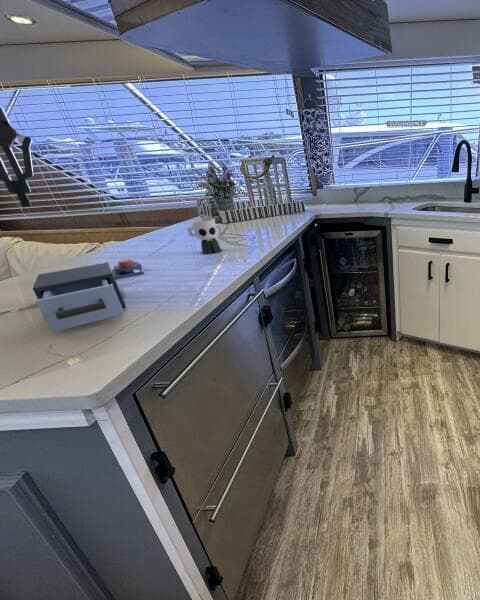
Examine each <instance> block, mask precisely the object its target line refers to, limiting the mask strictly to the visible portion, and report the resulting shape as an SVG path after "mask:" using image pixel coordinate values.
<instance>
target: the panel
mask: <svg viewBox="0 0 480 600" xmlns="http://www.w3.org/2000/svg"><path fill="white" fill-rule="evenodd" d="M133 262H134V264H135V265H132V266H127V267H119V264H115V265H114V266H112V269H111V270H112V273H113V275H114V278H115V280H116V281H117V280H122V279H125V278H130V277H136V276H140V275H144V274H145V272H144V270H143V266H142V263H141V262H140V261H133Z"/></svg>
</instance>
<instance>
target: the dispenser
mask: <svg viewBox="0 0 480 600" xmlns="http://www.w3.org/2000/svg"><path fill="white" fill-rule="evenodd" d="M112 270H113V269H111V266H110V262H103V263H102V262H101V263H96V264H91V265H86V266H80V267H74V268H68V269H63V270H57V271H51V272H45V273H39V274H37V277H36V279H35V282H34V284H33V287H32V291H33V292H34V294H35V297H36V298H37V299H42V298H43V294H44V291H45V290H48V289H53V288H58V287H63V286H68V285H73V284H78V283H83V282H89V281H94V280H99V279H104V278H107V280H108V282H109V285H110V284H112V285H113V287H114V290H115V292H116V294H117V297H118V299H119V302H120V304H121V306H122V309H126V308H127V306H126V303H125V300H124V297H123V295H122V292H121V290H120V287H119V285H118V282H117V280H115V278H114V275H113V273H112Z"/></svg>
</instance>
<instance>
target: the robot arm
mask: <svg viewBox="0 0 480 600" xmlns="http://www.w3.org/2000/svg"><path fill="white" fill-rule="evenodd" d="M16 139H17V140H18V142H19V143H20V144H21V151H22V157H23V164H24V172H23V169H22V168H21V166H20V163H19V161H18V160H17V157H16V156H15V154H14V151H13V149H12V146H13V145H14V142H15V140H16ZM32 143H33V139H32V137H29V136H26V135H24V134H22V133H19V132H18V131H17V130H16V129H15V128H14V127H13V126H12V125H11V122H10V120H9V117H8V116H7V114H6V111H5V110H4V108H3V107H2V106H1V105H0V147H1V148H2V150H3V152H4V153H5V156H6V158H7V160H8V162H9V164H10V166H11V168H12V170H13V173H14V174H15V176H16V180H15V179H13V180H12V177H11V175H10V174H9V172H8V170H7V167H6V166H5V164H4V162H3V160H2V158H1V156H0V181H3V183H4V184H5V187H6V189H7V191H8V192H9V194H11V195H15V194H16V196H17V198H18V200H19V203H20V205H21V206H22V208H27V207H28V208H29V207H32V206H33V205H32V203H31V200H30V199H29V196H28V193H29V194H31V192H32V190H31V186H30V185H29V183H28V181H27V179H30V178H32V177H34V175H35V174H34V169H33V161H32V159H33V158H32V153H31V146H32Z"/></svg>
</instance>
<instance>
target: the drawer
mask: <svg viewBox="0 0 480 600" xmlns="http://www.w3.org/2000/svg"><path fill="white" fill-rule="evenodd" d="M35 303H36V305H37V307H38V309H39V311H40V312H41V314H42V316H43V318H44V320H45V322H46V323H47V326H48V327H49V330H50V331H51V333H56V332H60V331H64V330H69V329H72V328H75V327H79V326H84V325H88V324H91V323H95V322H99V321H103V320H107V319H110V318H115V317H119V316H122V315H125V311H124V308H122V306H121V304H120V302H119V299H118V297H117V294H116V292H115V290H114V287H113V285H112V284H110V285H109V282H108V280H107V278H104V279H99V280H94V281H89V282H83V283H78V284H73V285H68V286H63V287H58V288H53V289H48V290H45V291H44V294H43V298H42V299H38V298H37V299H36V300H35Z"/></svg>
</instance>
